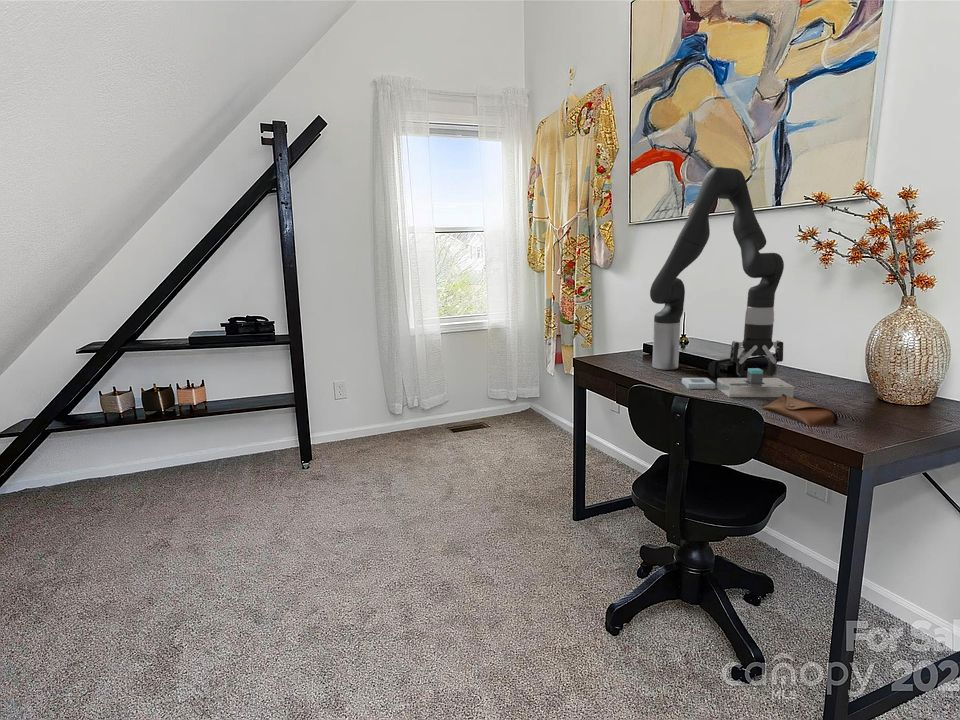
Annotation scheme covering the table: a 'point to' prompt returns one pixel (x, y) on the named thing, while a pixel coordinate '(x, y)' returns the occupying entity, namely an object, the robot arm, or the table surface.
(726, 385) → the port panel
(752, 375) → the plug
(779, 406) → the sunglasses case
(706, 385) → the holster
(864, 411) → the table surface
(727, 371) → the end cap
